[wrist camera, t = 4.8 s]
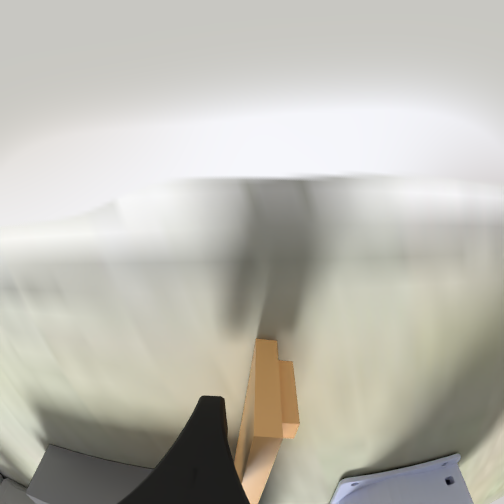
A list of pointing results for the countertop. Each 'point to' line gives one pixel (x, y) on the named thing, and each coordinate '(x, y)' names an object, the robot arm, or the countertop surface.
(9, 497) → the camera
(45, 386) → the countertop surface
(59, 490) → the camera case
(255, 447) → the case door
